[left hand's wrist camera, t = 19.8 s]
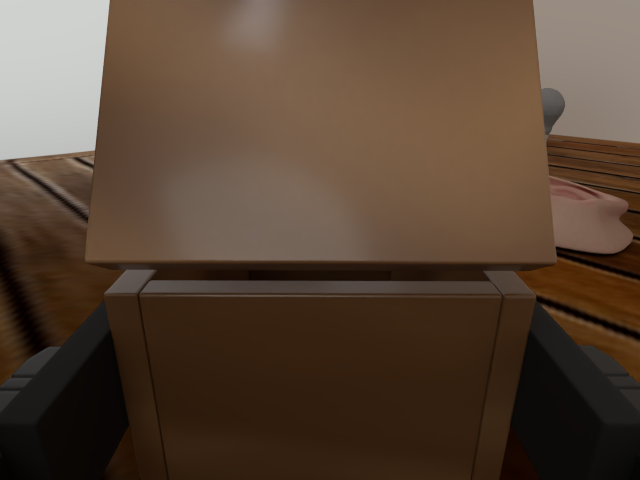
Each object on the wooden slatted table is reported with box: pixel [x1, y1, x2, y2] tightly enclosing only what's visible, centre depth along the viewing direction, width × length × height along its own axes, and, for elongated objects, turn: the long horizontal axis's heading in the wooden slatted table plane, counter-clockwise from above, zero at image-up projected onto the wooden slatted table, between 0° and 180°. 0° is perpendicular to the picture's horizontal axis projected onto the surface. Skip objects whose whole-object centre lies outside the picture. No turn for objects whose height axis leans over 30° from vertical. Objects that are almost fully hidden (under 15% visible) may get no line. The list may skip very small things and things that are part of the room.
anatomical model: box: [549, 176, 633, 254], centre depth 40 cm, size 13×4×12 cm
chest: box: [104, 270, 536, 480], centre depth 18 cm, size 15×9×9 cm, turn 0°
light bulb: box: [541, 88, 565, 145], centre depth 78 cm, size 6×6×10 cm
